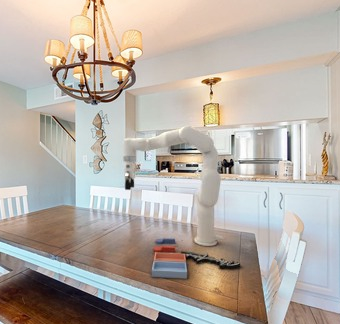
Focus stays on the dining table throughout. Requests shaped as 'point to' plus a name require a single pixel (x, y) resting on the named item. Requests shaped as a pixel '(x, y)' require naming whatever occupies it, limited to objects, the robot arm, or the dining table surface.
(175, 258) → the red bin
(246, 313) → the dining table surface
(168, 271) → the blue bin
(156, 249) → the red spoon
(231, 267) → the nameplate
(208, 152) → the robot arm
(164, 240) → the blue spoon
